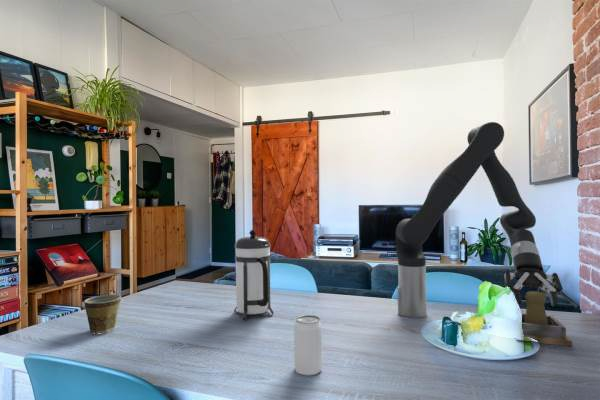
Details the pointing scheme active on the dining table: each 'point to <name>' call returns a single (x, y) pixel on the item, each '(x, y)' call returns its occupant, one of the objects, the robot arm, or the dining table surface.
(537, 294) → the cork
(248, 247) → the coffee press
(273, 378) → the dining table surface
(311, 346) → the can
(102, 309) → the ceramic cup
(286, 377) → the dining table surface
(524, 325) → the brown wooden tray
